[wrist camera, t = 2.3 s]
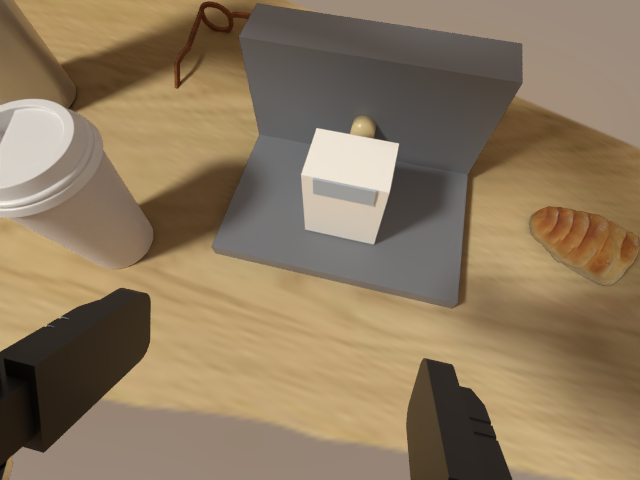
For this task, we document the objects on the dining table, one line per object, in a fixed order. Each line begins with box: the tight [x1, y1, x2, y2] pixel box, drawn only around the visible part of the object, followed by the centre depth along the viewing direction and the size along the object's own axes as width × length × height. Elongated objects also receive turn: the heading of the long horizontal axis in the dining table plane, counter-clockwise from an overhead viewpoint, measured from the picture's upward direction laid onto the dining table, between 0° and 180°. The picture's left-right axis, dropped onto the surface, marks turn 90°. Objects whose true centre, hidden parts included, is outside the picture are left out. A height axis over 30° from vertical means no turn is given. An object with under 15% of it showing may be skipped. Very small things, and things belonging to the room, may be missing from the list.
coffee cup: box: [0, 99, 153, 269], centre depth 31 cm, size 10×10×15 cm
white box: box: [301, 128, 399, 244], centre depth 33 cm, size 7×5×9 cm
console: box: [212, 3, 522, 308], centre depth 34 cm, size 24×20×14 cm
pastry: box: [529, 206, 640, 286], centre depth 36 cm, size 9×7×4 cm
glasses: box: [174, 1, 251, 89], centre depth 48 cm, size 13×13×5 cm
